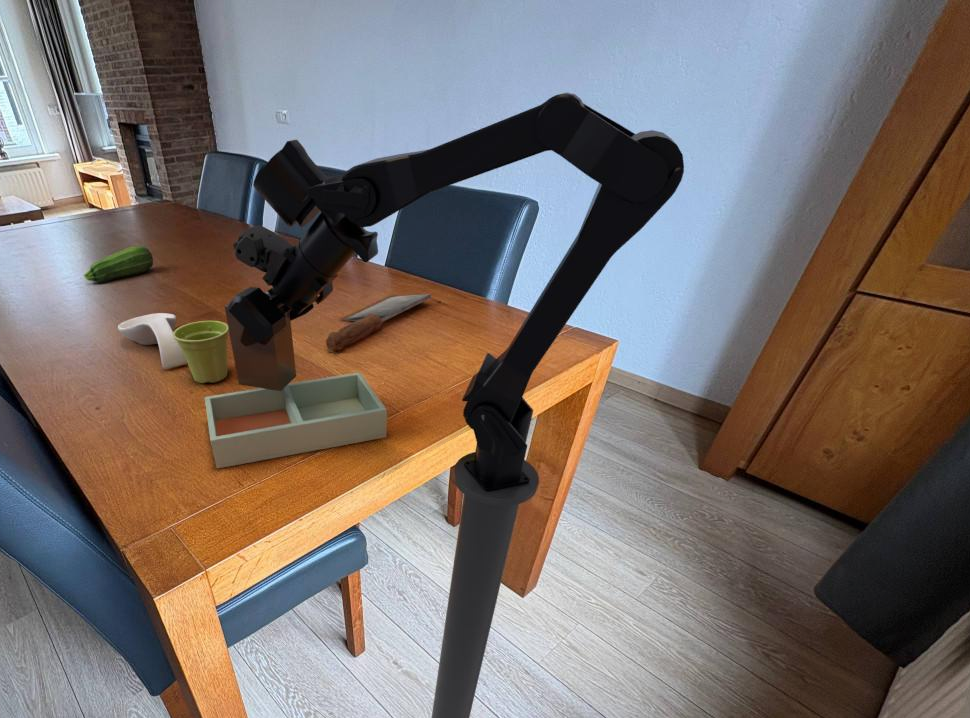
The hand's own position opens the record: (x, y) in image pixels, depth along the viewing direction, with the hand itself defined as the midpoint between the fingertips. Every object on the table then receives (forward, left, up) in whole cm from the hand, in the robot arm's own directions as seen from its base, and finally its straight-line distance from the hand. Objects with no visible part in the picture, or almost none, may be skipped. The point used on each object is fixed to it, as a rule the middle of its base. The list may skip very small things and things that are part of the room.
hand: (253, 336), depth 71 cm
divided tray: (-5, -4, -13) cm, 15 cm away
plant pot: (+18, +7, -13) cm, 24 cm away
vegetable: (+93, +27, -13) cm, 98 cm away
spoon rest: (+35, +16, -13) cm, 41 cm away
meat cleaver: (+33, -28, -14) cm, 45 cm away
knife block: (-1, -1, -7) cm, 7 cm away
